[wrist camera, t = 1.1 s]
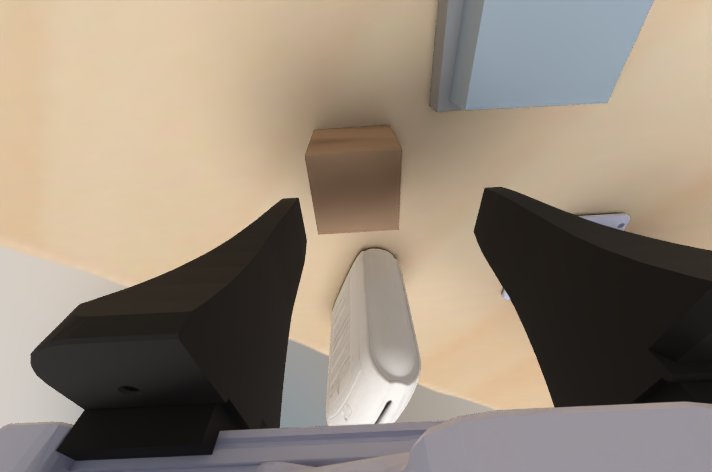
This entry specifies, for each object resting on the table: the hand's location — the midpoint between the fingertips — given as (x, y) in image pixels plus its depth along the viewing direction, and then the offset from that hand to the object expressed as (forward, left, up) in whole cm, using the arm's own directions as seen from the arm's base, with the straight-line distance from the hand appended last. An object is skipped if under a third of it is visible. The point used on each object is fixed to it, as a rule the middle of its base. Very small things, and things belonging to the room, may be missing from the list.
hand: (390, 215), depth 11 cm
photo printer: (-14, +1, -10) cm, 17 cm away
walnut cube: (-2, +1, -10) cm, 10 cm away
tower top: (+6, -8, -8) cm, 13 cm away
